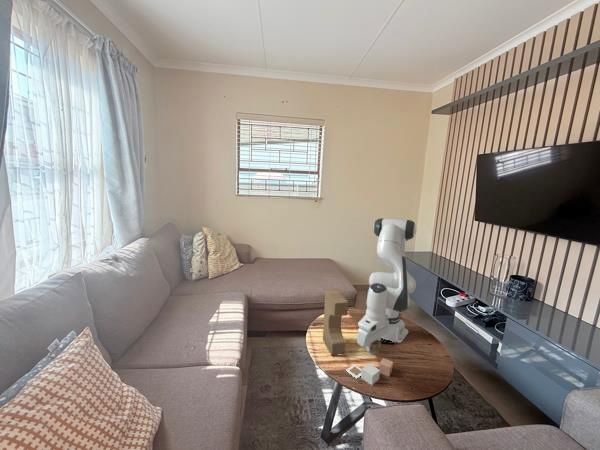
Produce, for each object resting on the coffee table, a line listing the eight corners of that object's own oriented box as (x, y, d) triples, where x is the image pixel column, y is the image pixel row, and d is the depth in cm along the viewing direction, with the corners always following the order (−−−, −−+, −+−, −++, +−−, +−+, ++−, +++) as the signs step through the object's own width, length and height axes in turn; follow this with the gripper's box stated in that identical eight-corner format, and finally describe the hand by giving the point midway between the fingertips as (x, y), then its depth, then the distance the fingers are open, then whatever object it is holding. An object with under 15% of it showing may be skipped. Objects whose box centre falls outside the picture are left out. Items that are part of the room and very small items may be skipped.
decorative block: (344, 354, 145) (348, 302, 139) (331, 356, 143) (334, 303, 138) (334, 338, 159) (337, 290, 154) (322, 339, 157) (325, 290, 152)
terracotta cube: (382, 366, 137) (382, 357, 136) (392, 371, 134) (393, 361, 133) (378, 372, 133) (379, 363, 132) (389, 376, 130) (390, 367, 129)
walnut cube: (371, 346, 129) (371, 336, 128) (380, 351, 125) (381, 341, 125) (364, 350, 126) (365, 340, 125) (373, 355, 122) (374, 345, 121)
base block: (368, 372, 133) (369, 363, 132) (379, 379, 128) (380, 370, 127) (360, 378, 129) (361, 368, 128) (371, 385, 124) (372, 376, 123)
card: (354, 364, 137) (354, 363, 137) (365, 372, 132) (365, 371, 132) (345, 371, 133) (345, 369, 133) (356, 379, 127) (356, 378, 127)
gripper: (382, 310, 132) (379, 336, 134) (355, 324, 119) (353, 352, 121) (393, 315, 127) (391, 342, 130) (367, 330, 114) (365, 360, 117)
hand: (372, 347), depth 125 cm, fingers closed on walnut cube, 5 cm apart
